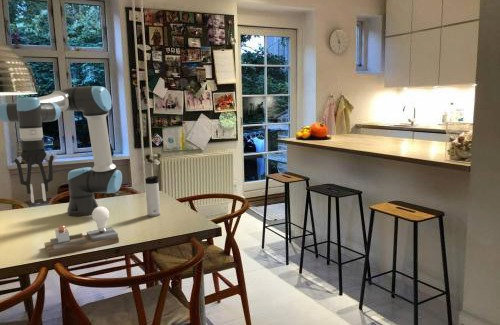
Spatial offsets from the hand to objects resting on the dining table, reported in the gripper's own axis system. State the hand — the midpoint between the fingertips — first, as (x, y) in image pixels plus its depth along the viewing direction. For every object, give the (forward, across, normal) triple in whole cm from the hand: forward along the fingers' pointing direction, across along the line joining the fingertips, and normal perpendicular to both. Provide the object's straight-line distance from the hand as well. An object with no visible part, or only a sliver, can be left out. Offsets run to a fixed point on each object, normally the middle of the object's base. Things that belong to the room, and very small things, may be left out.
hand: (38, 200), depth 155 cm
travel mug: (+21, +53, +23) cm, 61 cm away
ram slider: (+19, +7, 0) cm, 20 cm away
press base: (+21, +14, 0) cm, 25 cm away
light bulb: (+17, +22, 0) cm, 28 cm away
